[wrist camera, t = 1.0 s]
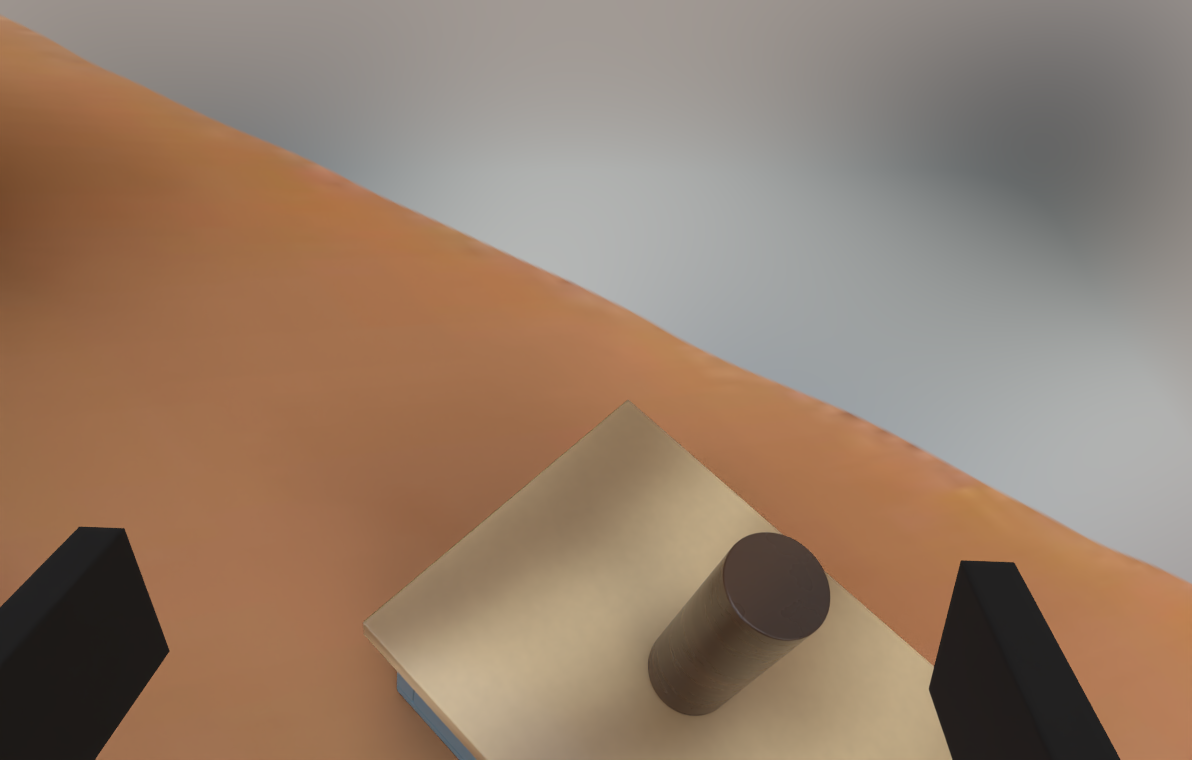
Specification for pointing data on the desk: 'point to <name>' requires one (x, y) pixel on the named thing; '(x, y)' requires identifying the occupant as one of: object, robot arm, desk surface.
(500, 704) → the tan piece
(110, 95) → the desk surface
